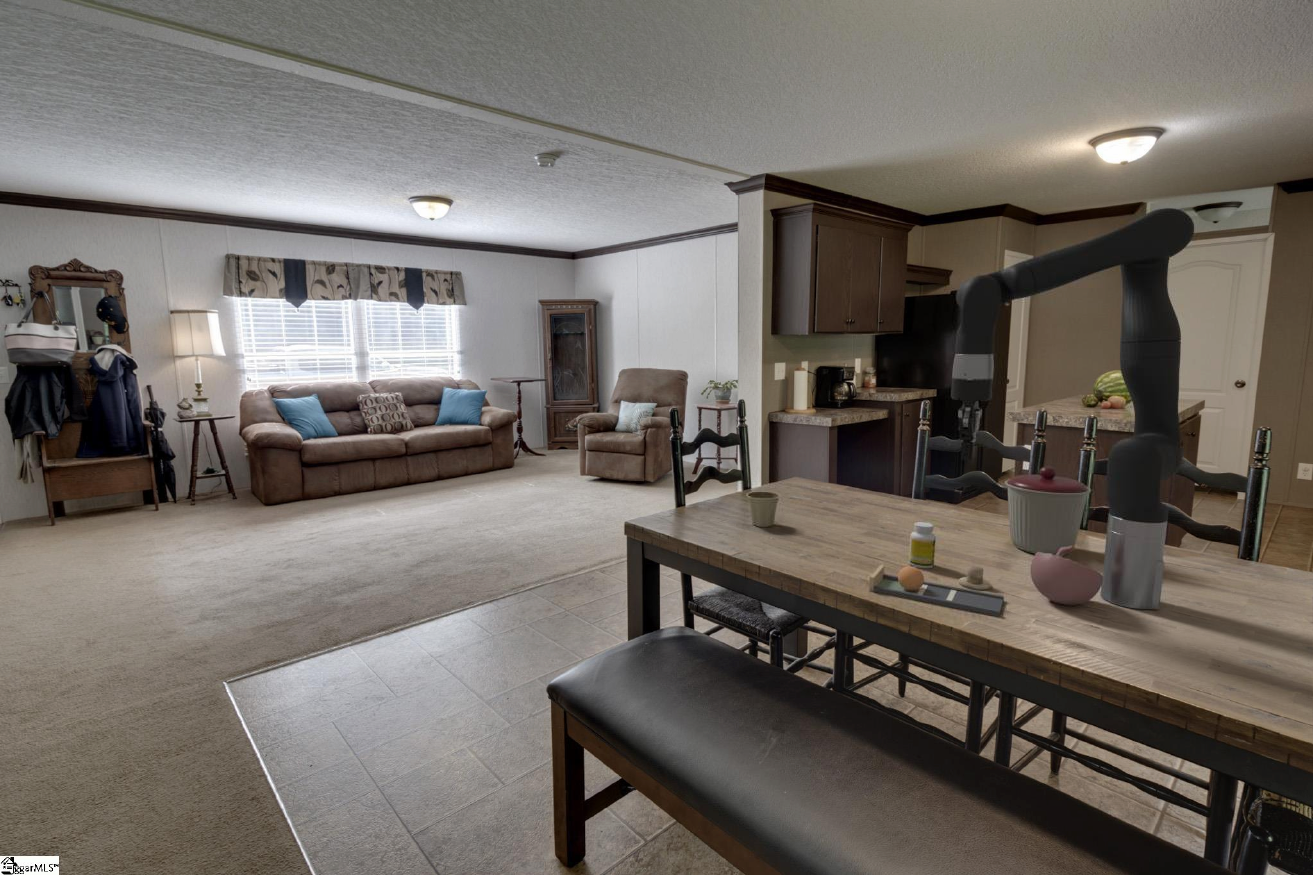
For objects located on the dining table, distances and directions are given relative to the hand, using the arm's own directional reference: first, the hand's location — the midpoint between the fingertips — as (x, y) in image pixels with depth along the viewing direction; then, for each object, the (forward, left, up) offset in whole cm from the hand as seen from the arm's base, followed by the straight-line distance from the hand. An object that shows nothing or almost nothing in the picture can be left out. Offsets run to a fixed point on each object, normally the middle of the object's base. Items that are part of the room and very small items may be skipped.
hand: (966, 459), depth 133 cm
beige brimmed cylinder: (-3, -1, -27) cm, 27 cm away
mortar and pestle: (-19, 0, -27) cm, 33 cm away
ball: (+8, +10, -24) cm, 27 cm away
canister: (-14, -36, -27) cm, 47 cm away
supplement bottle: (+9, -8, -27) cm, 30 cm away
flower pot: (+54, -20, -27) cm, 64 cm away
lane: (+3, +10, -27) cm, 29 cm away
